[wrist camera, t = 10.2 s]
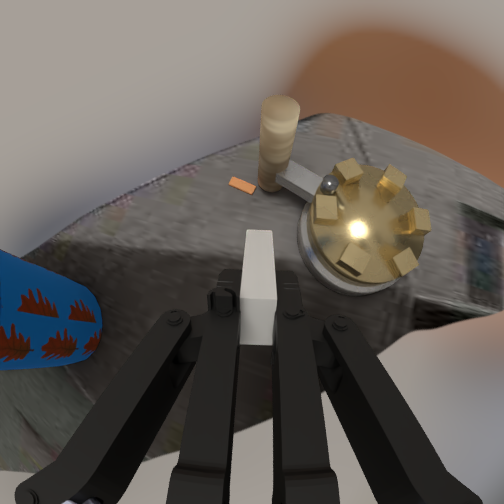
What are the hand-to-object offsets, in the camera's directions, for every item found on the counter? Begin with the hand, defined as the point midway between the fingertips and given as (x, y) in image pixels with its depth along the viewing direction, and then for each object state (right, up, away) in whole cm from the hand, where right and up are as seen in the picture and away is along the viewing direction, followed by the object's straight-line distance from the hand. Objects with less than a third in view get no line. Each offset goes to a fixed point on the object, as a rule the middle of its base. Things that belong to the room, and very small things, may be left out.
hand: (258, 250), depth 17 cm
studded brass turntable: (+9, +4, +14) cm, 17 cm away
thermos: (-23, -9, +12) cm, 28 cm away
